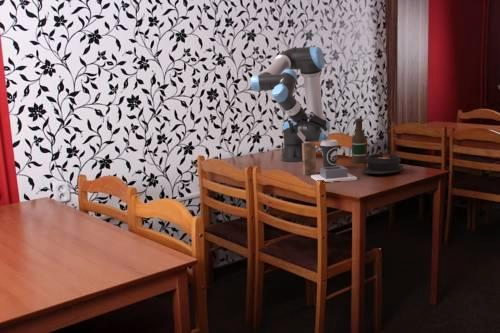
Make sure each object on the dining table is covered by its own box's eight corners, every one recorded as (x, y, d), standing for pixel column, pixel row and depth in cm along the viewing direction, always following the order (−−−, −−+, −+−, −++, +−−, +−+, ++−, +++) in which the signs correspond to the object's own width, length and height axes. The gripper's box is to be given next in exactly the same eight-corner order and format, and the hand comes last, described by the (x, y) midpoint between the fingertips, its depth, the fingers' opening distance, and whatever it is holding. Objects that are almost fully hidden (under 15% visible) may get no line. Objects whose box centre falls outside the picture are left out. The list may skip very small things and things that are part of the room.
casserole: (380, 166, 287) (380, 150, 285) (412, 170, 274) (413, 153, 272) (353, 174, 270) (353, 158, 268) (386, 179, 256) (386, 161, 255)
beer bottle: (358, 164, 294) (357, 120, 289) (349, 162, 301) (348, 119, 296) (369, 162, 297) (369, 118, 293) (360, 160, 304) (359, 117, 299)
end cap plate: (321, 183, 254) (320, 172, 253) (311, 177, 268) (310, 167, 267) (356, 179, 258) (356, 169, 257) (345, 174, 271) (345, 163, 270)
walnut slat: (304, 175, 273) (303, 144, 270) (303, 174, 276) (302, 143, 273) (316, 174, 274) (315, 143, 271) (314, 173, 277) (313, 142, 274)
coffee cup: (338, 166, 290) (338, 139, 287) (339, 170, 281) (339, 141, 278) (320, 167, 291) (319, 139, 288) (321, 171, 282) (320, 142, 279)
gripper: (271, 121, 266) (293, 147, 278) (315, 110, 251) (336, 138, 264) (274, 110, 270) (296, 135, 282) (318, 98, 255) (339, 126, 268)
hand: (316, 137), depth 273 cm, fingers open, 13 cm apart
